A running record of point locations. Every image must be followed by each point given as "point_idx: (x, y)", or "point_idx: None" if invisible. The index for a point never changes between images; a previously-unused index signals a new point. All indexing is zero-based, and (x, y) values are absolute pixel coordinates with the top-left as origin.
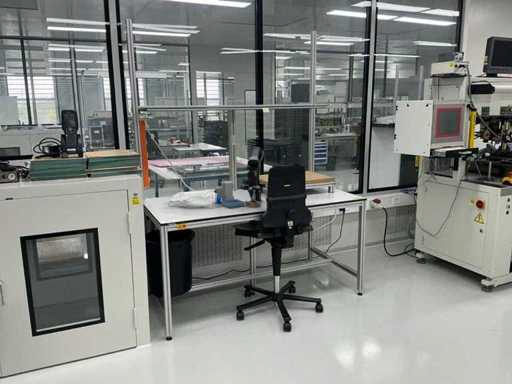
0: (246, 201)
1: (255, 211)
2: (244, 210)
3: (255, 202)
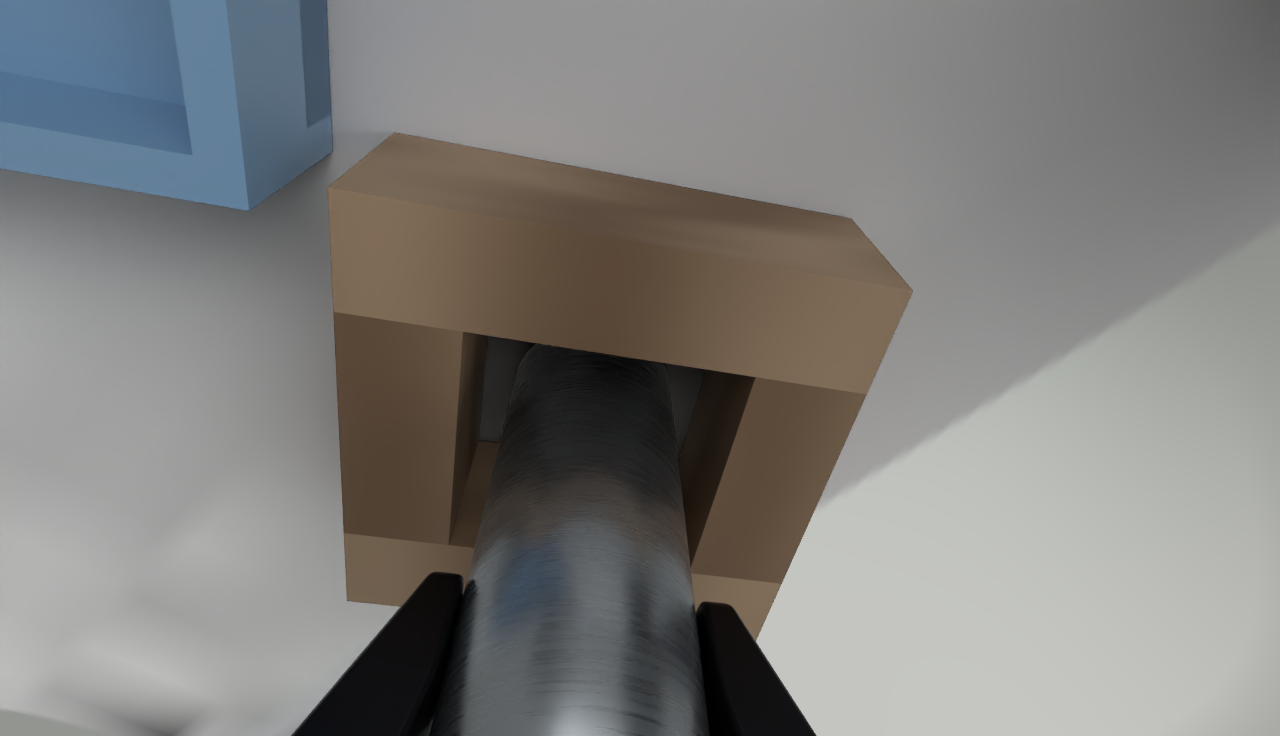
0: (378, 228)
1: (256, 720)
2: (23, 546)
3: None
